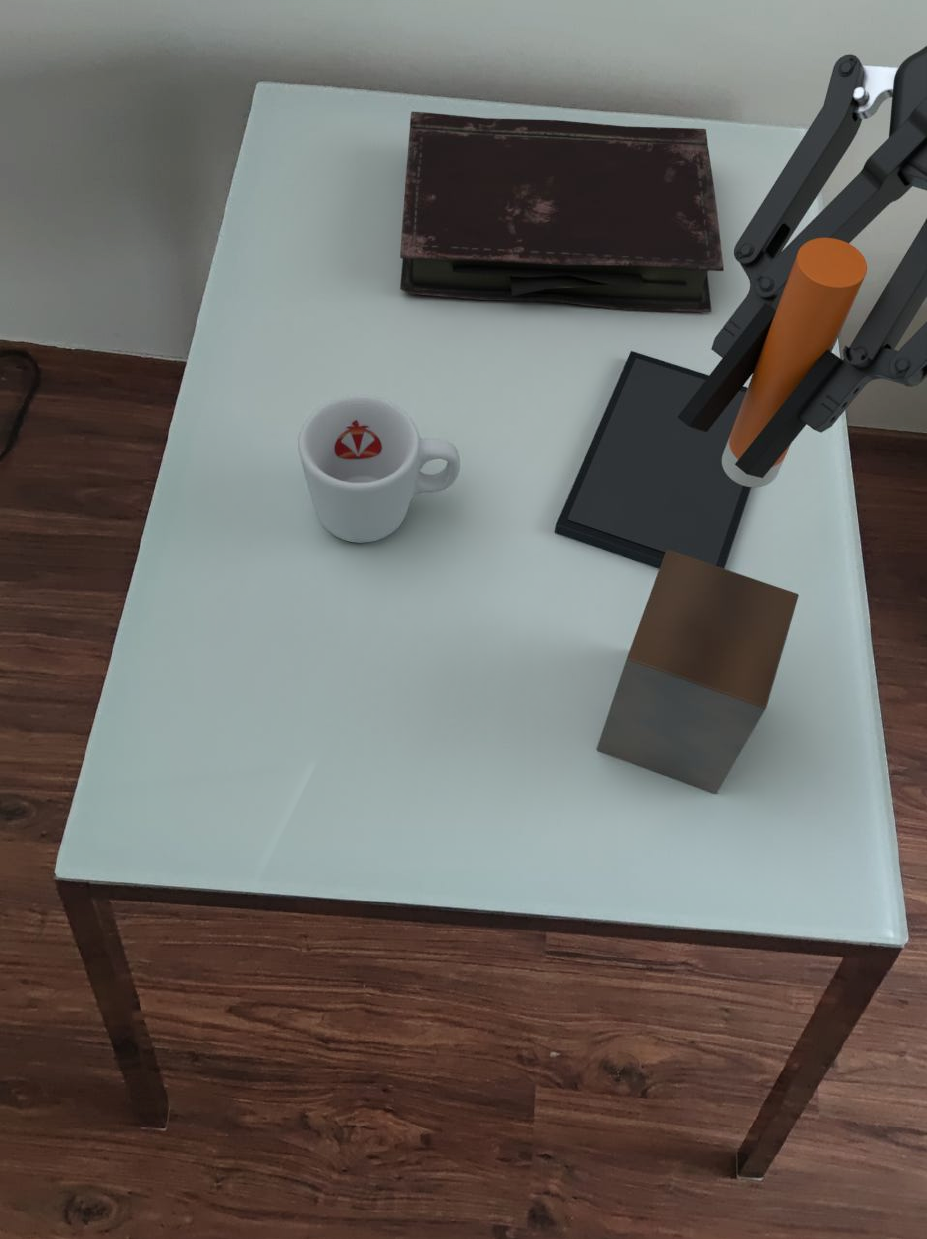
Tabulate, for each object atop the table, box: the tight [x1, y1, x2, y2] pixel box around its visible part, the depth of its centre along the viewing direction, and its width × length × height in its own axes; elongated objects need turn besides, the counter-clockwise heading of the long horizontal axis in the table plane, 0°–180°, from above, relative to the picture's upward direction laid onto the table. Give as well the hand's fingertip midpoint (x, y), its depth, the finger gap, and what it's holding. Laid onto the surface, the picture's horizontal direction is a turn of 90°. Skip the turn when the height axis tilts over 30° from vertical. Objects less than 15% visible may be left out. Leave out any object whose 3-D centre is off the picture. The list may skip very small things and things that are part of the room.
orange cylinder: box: [722, 238, 868, 488], centre depth 58 cm, size 3×3×14 cm
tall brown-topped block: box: [596, 550, 800, 795], centre depth 74 cm, size 8×8×12 cm
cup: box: [297, 394, 461, 544], centre depth 83 cm, size 11×8×8 cm
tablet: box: [554, 350, 752, 570], centre depth 89 cm, size 12×18×1 cm, turn 159°
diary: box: [399, 111, 725, 313], centre depth 100 cm, size 19×25×5 cm
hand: (720, 447), depth 59 cm, fingers closed on orange cylinder, 3 cm apart
